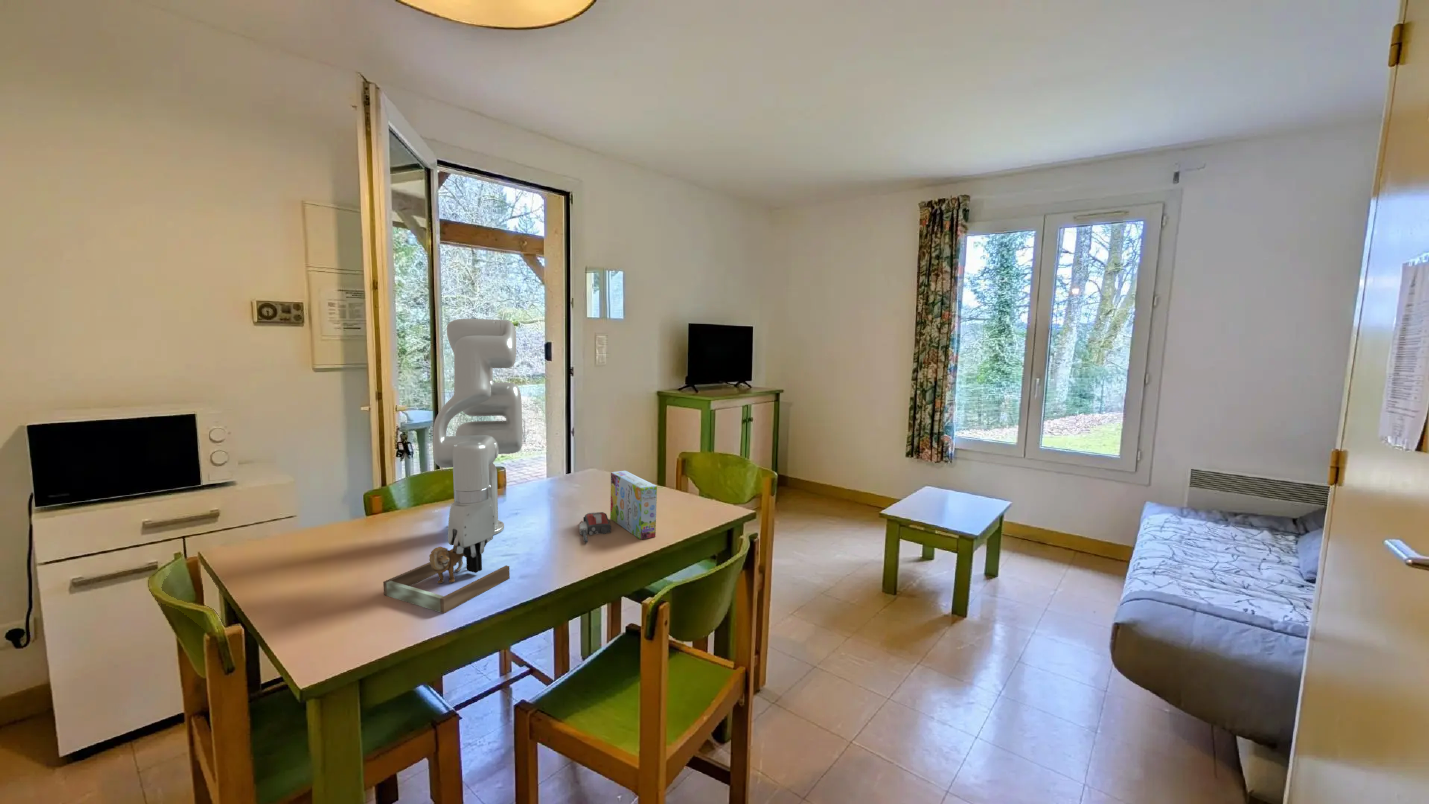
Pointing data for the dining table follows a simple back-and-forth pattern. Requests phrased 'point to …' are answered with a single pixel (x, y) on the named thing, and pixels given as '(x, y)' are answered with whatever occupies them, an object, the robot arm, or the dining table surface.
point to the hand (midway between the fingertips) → (474, 570)
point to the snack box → (633, 504)
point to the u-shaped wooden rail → (403, 591)
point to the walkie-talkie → (594, 524)
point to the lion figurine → (445, 562)
